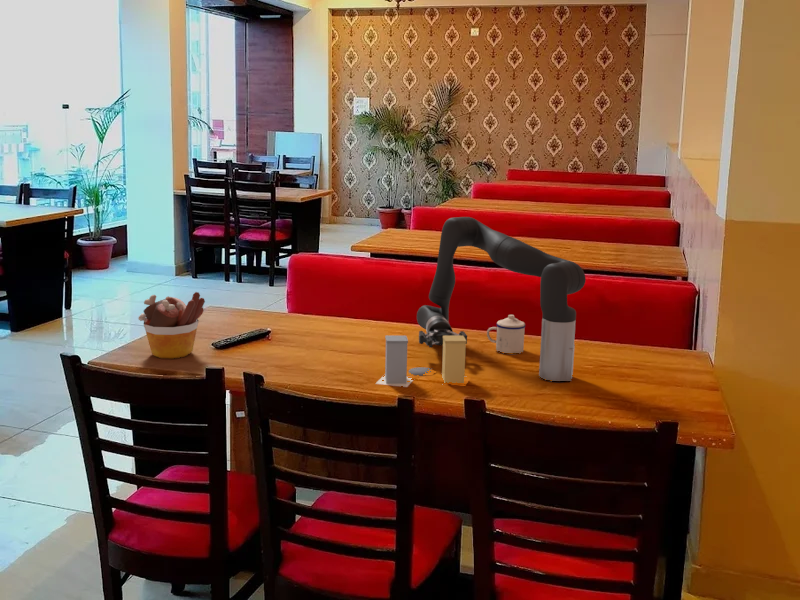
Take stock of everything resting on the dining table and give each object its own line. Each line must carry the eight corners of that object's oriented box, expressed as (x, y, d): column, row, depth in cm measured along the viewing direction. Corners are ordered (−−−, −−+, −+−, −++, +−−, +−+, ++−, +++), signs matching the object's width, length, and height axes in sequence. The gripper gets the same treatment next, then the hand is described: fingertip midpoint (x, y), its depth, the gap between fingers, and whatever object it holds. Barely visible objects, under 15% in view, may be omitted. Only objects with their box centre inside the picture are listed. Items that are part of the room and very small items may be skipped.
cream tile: (415, 378, 232) (415, 377, 232) (407, 388, 224) (407, 387, 224) (384, 375, 235) (384, 374, 234) (375, 384, 226) (375, 383, 226)
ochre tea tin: (461, 377, 233) (463, 335, 231) (464, 383, 228) (466, 340, 225) (441, 377, 233) (442, 335, 230) (443, 383, 227) (445, 340, 225)
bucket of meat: (128, 357, 246) (125, 292, 242) (161, 344, 262) (158, 282, 257) (187, 365, 240) (185, 298, 236) (217, 350, 256) (215, 287, 251)
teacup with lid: (525, 348, 266) (527, 313, 263) (522, 355, 257) (524, 319, 255) (488, 345, 269) (489, 310, 266) (484, 352, 260) (485, 316, 257)
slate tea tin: (405, 377, 232) (406, 335, 230) (407, 383, 226) (408, 340, 224) (384, 377, 232) (385, 335, 229) (385, 383, 226) (386, 340, 223)
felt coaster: (439, 370, 240) (439, 368, 240) (432, 378, 233) (432, 376, 233) (412, 367, 243) (412, 366, 242) (405, 375, 235) (405, 373, 235)
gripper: (416, 318, 255) (421, 331, 240) (462, 318, 256) (470, 331, 241) (415, 341, 257) (420, 356, 241) (461, 341, 258) (469, 356, 242)
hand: (445, 344), depth 241 cm, fingers open, 8 cm apart
